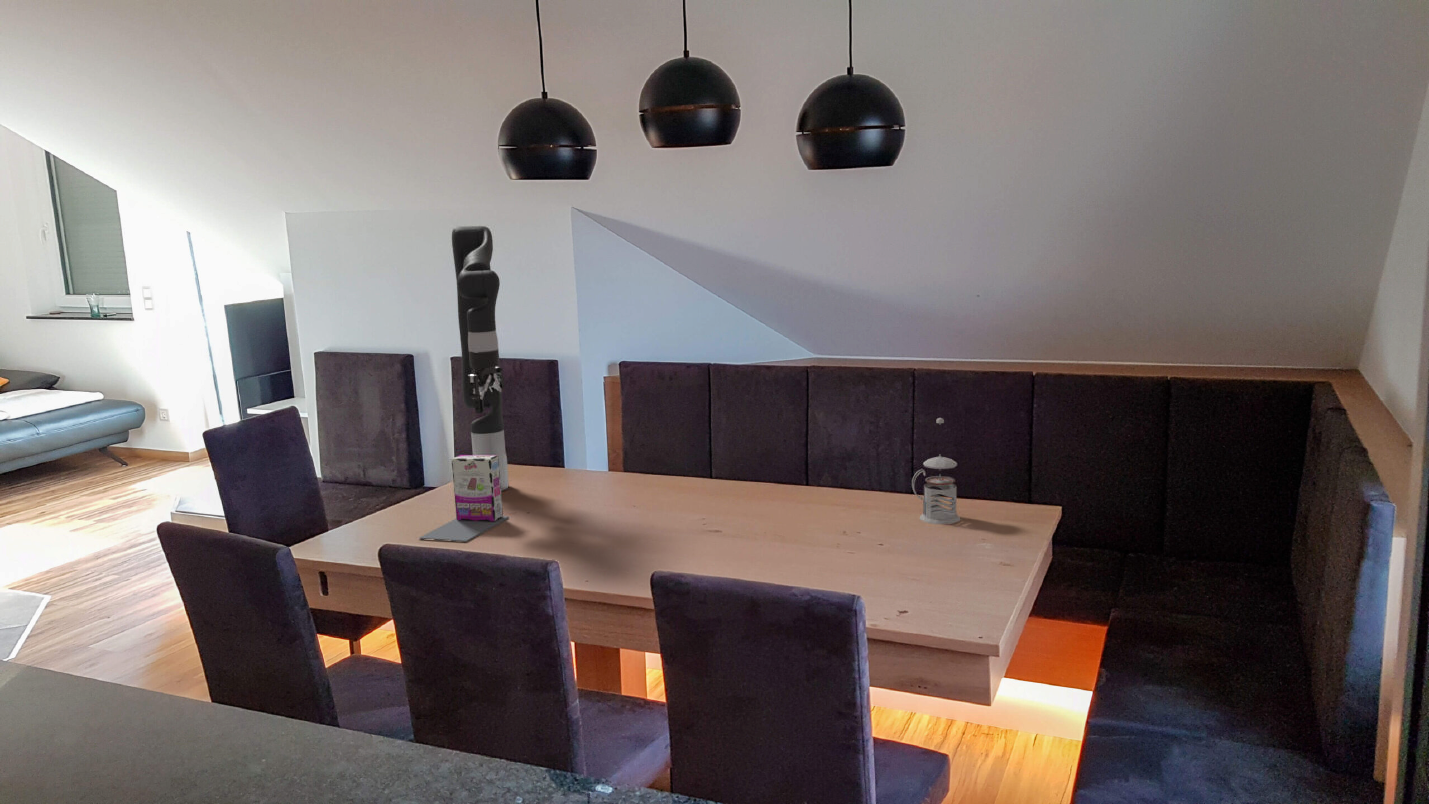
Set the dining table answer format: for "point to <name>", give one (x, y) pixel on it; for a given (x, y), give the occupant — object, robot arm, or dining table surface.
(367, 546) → the dining table surface
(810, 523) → the dining table surface
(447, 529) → the mat
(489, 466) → the candy bar box
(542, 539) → the dining table surface
